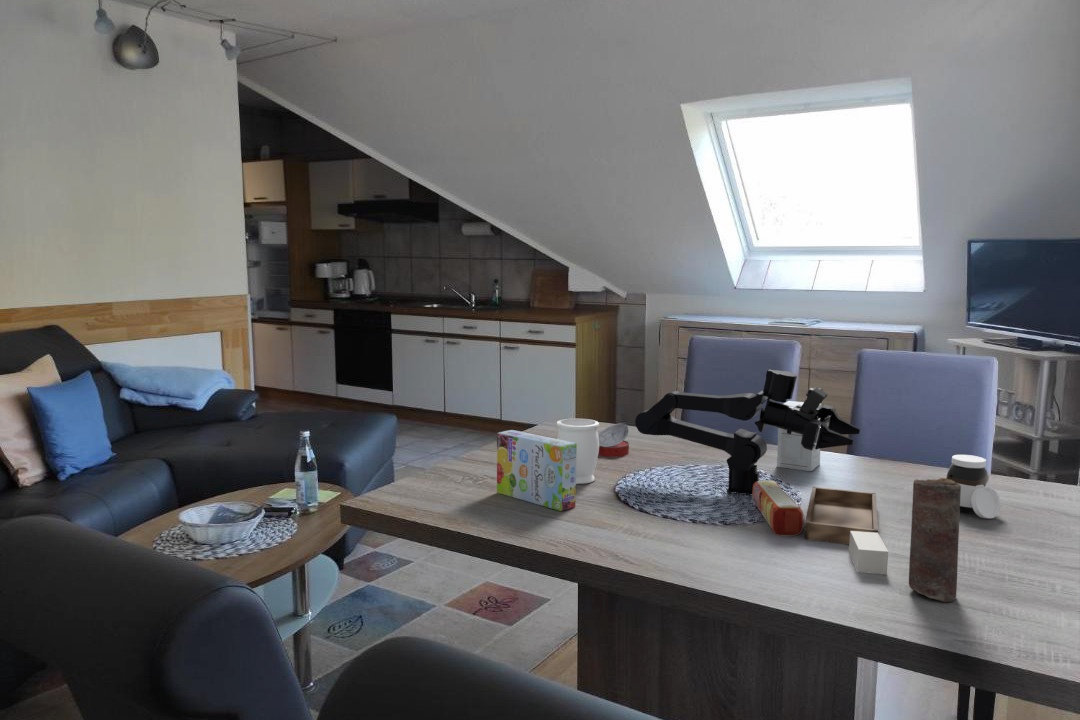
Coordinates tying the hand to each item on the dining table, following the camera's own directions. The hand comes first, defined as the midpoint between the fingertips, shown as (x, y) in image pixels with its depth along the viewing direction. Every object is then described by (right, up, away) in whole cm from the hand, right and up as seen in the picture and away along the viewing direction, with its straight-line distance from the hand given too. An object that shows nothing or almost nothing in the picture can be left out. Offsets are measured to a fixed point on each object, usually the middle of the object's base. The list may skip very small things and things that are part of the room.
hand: (856, 436), depth 183 cm
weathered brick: (-5, -23, -45) cm, 50 cm away
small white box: (-10, -21, -31) cm, 39 cm away
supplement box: (-1, -12, +37) cm, 39 cm away
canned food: (-51, -10, +51) cm, 73 cm away
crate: (-7, -18, -9) cm, 21 cm away
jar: (-62, -13, +23) cm, 67 cm away
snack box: (-72, -16, +7) cm, 74 cm away
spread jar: (+25, -17, -1) cm, 31 cm away
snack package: (-20, -18, -7) cm, 28 cm away
